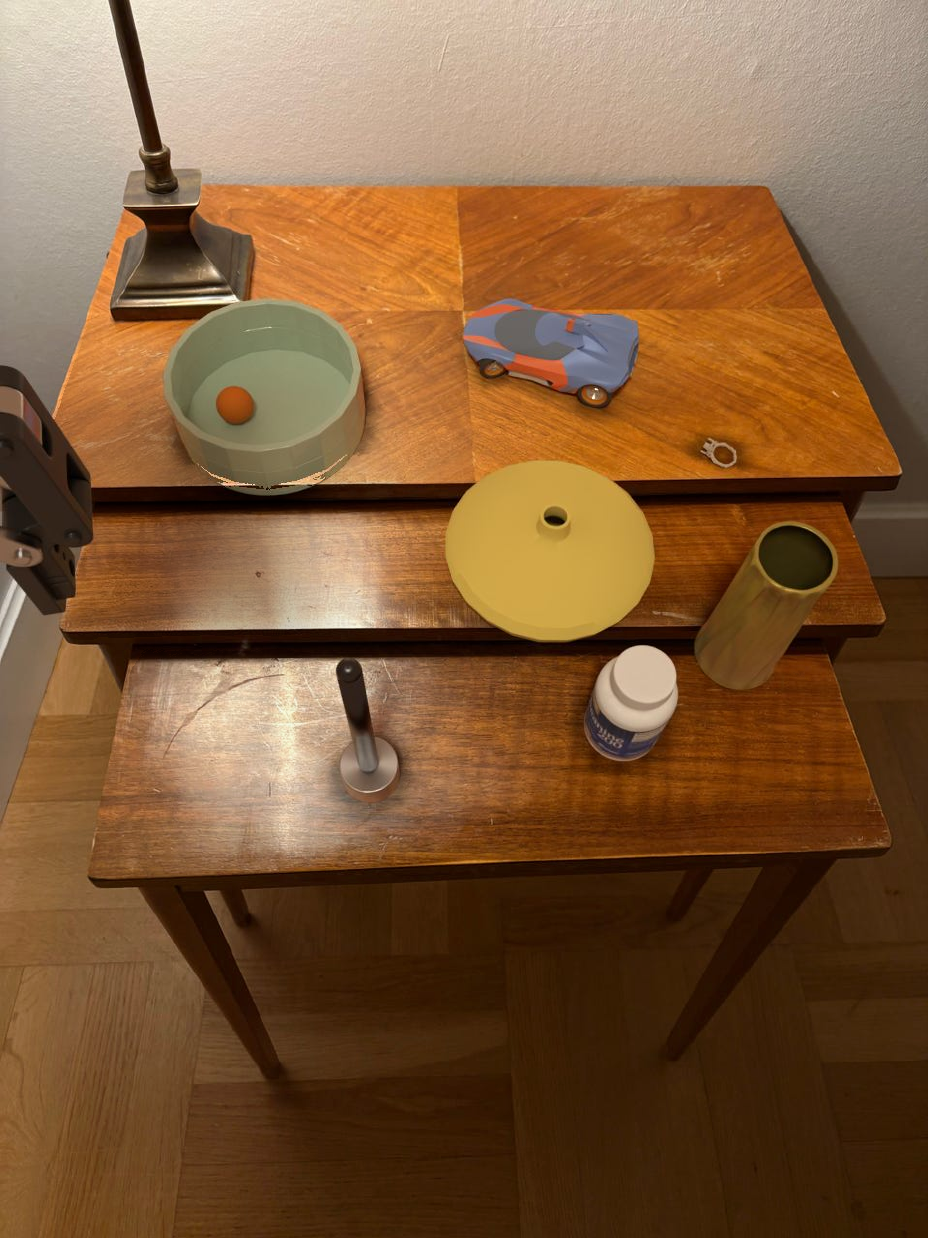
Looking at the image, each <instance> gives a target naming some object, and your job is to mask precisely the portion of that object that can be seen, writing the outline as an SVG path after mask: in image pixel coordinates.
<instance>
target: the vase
mask: <svg viewBox="0 0 928 1238" xmlns="http://www.w3.org/2000/svg"><path fill="white" fill-rule="evenodd" d="M838 571H839V556H838V552H837V550H836V547H835V546H834V544H833V543H832V542H831V540H830V539H829V538H828V537H827V536H826V535H825V534H824V533H823V532H821V531H820V530H818V529H817V528H815V527H814V526H811V525H809V524H807V523H805V522H801V521H800V522H799V521H792V520H789V521H787V520H786V521H781V522H777V523H773V524H771V525H769V526H768V527H766V528H765V529H764V530H762V532H760V534H759V536H758V537H757V540H756V541H755V543H754V544H753V545H752V546H751V549H750V551H748V553H747V555H746V557H745V559H744V561H743V563H742V564H741V566H740V568H739V569H738V571H737V572H736V574H735V575H734V578H733V579H732V580H731V582H730V584H729V586H728V587H727V588H726V590H725V592H724V594H723V595H722V596H721V599H720V601H719V602H718V604H717V605H716V606H715V608H713V611H712V612H711V614H710V616H709V617H708V619H707V621H705V623H703V624H702V626H701V627H700V628H699V630H698V632H697V635H696V637H695V639H694V645H693V647H694V648H693V650H694V651H693V652H694V656H695V660H696V662H697V664H698V667H699V668H700V670H701V671H702V673H704V675H706V677H707V678H709V679H710V680H711V681H712V682H714V683H715V684H717V685H719V686H720V687H723V688H725V689H730V690H735V691H748V690H752V689H755V688H757V687H760V686H762V685H763V684H765V683H766V682H767V681H768V680H769V679H770V677H771V676H772V674H773V673H774V672H775V670H776V666H777V664H778V662H780V660H781V658H782V657H783V656H784V654H785V653H786V651H787V650H788V648H789V647H790V644H791V643H792V642H793V640H794V639H795V638H796V636H797V634H798V633H799V631H800V630H801V629H802V627H803V625H804V623H805V621H806V619H807V618H808V616H809V615H810V613H811V611H812V609H813V607H814V606H815V604H816V602H817V601H818V599H819V598H820V597H821V596H822V595H823V594H824V593H825V592H826V591H827V589H828V588H829V587H830V586H831V584H832V583H833V581H834V579H835V578H836V575H837V573H838Z"/></svg>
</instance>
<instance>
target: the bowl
mask: <svg viewBox="0 0 928 1238" xmlns="http://www.w3.org/2000/svg"><path fill="white" fill-rule="evenodd" d="M162 380H163V391H164V399H165V402H166V404H167V407H168V410H169V412H170V415H171V418H172V420H173V422H174V426H175V427H176V430H177V432H178V435H179V438H180V440H181V442H182V444H183V446H184V448H185V450H186V452H187V455H188V456H189V458H190V460H191V461H192V462H193V464H194V465H195V466H196V467H197V469H198V470H199V471H200V472H201V473H202V474H204V476H206V477H207V478H209V479H210V480H212V481H213V482H215V483H216V484H218V483H217V482H220V483H223V482H226V481H223V480H221V479H218V478H216V477H213V476H211V475H210V474H209V473H208V472H210V473H211V474H214V475H217V476H219V477H223V478H226V479H229V480H231V481H234V482H239V483H245V484H247V483H248V484H252V485H253V484H255V485H259V487H260V488H261V486H263V488H264V489H256V488H247V487H239V486H235V485H234V486H231V487H229V486H225V487H224V488H226V489H229V490H231V491H235V492H239V493H242V494H247V495H252V496H253V495H254V496H279V495H281V496H282V495H288V494H292V493H297V492H300V491H303V490H306V489H309V488H311V487H313V486H315V485H312V486H308V485H309V484H307V485H295V486H289V487H282V488H276V489H270V488H271V486H274V485H279V484H281V483H287V482H292V481H297V480H300V479H303V478H306V477H308V476H311V475H313V474H315V473H318V472H322V471H323V470H326V469H328V468H329V467H330V466H332V465H333V464H334V463H335V462H337V461H338V460H339V459H341V458H342V457H343V456H345V455H346V454H347V456H345V457H344V458H343V459H342V460H341V461H339V462H338V463H337V464H336V465H335V466H333V467H332V468H331V469H330V470H329V471H327V472H325V473H324V474H322V475H320V476H321V478H320V479H323V478H324V477H325V478H326V479H325V480H327V479H329V478H330V477H331V476H333V475H334V474H335V473H337V472H338V471H339V470H340V469H341V468H343V466H345V464H347V462H348V461H349V460H350V459H351V458H352V456H353V454H354V453H355V452H356V450H357V448H358V446H359V444H360V443H361V440H362V437H363V434H364V429H365V426H366V411H367V410H366V404H365V393H364V385H363V384H364V383H363V376H362V367H361V362H360V358H359V353H358V348H357V345H356V344H355V342H354V341H353V339H352V338H351V336H350V335H349V333H348V332H347V330H346V328H345V327H344V326H343V324H341V323H340V322H338V321H337V320H335V318H333V317H331V316H330V315H328V313H326V312H325V311H323V310H321V309H319V308H316V307H314V306H310V305H308V304H305V303H302V302H299V301H298V300H290V299H281V298H280V299H278V298H269V297H267V298H266V297H264V298H257V299H251V300H250V299H249V300H242V301H236V302H233V303H230V304H229V305H226V306H223V307H220V308H217V309H216V310H212V311H210V312H209V313H207V314H206V315H204V316H203V317H202V318H200V319H199V320H197V321H196V322H194V323H193V324H191V325H190V326H188V327H187V328H186V329H185V330H184V331H183V333H182V334H181V336H179V338H178V339H177V341H176V342H175V343H174V345H173V346H172V347H171V348H170V351H169V353H168V356H167V360H166V362H165V366H164V369H163V371H162ZM229 386H238V387H241V388H243V389H245V390H246V391H248V392H249V394H250V395H251V397H252V399H253V403H254V408H253V412H252V414H251V416H250V417H249V418H248V419H247V420H246V421H244V422H242V423H237V424H234V423H229V422H227V421H225V420H224V419H223V418H222V417H221V416H220V415H219V413H218V411H217V408H216V399H217V396H218V395H219V393H220V392H221V391H222V390H223V389H225V388H227V387H229ZM192 459H193V460H192ZM197 463H198V464H199V465H198V464H197ZM201 466H202V467H203V468H204V469H205V470H207V471H208V472H207V471H205V470H204V469H203V468H202V467H201ZM320 476H318V477H315V478H319V477H320ZM329 476H330V477H329ZM313 479H314V478H313ZM314 480H317V479H314ZM226 483H228V482H226ZM267 487H268V488H269V489H270V490H269V489H268V490H266V488H267Z"/></svg>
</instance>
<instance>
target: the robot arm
mask: <svg viewBox="0 0 928 1238" xmlns="http://www.w3.org/2000/svg"><path fill="white" fill-rule="evenodd" d="M91 478H92V477H91V473H90V471H89V470H88V468H87V466H86V465H85V464H84V462H83V460H82V459H81V458H80V456H79V454H77V451H76V450H75V449H74V448H73V446H72V444H71V443H70V441H69V439H68V438H67V436H66V435H65V434H64V432H63V431H62V429H61V427H59V425H58V423H57V422H56V420H55V419H54V418H53V416H52V415H51V413H50V412H49V410H48V408H47V407H46V406H45V403H43V401H42V400H41V398H40V396H39V395H38V394H37V392H36V390H35V389H34V388H33V386H32V384H31V383H30V381H28V379H27V377H26V376H25V374H24V373H23V372H22V371H21V370H19V369H17V368H15V367H12V366H8V365H4V364H0V512H1V525H0V563H3V564H5V570H6V571H7V573H8V574H9V575H10V576H11V577H12V579H13V580H14V581H15V582H16V584H17V585H18V586H19V587H20V588H21V590H22V591H23V592H24V593H25V595H26V596H27V598H28V599H29V600H30V601H31V602H32V604H33V605H34V606H35V608H37V610H38V611H39V612H40V613H41V615H42V616H44V617H45V616H50V615H56V614H57V615H58V614H63V613H65V612H66V610H67V599H72V598H73V599H74V598H75V597H76V592H77V584H76V581H77V580H76V555H75V554H74V553H73V551H72V550H71V549H72V548H74V549H76V548H82V547H86V546H88V545H90V544H91V543H92V542H93V540H94V524H93V502H92V479H91Z"/></svg>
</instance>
